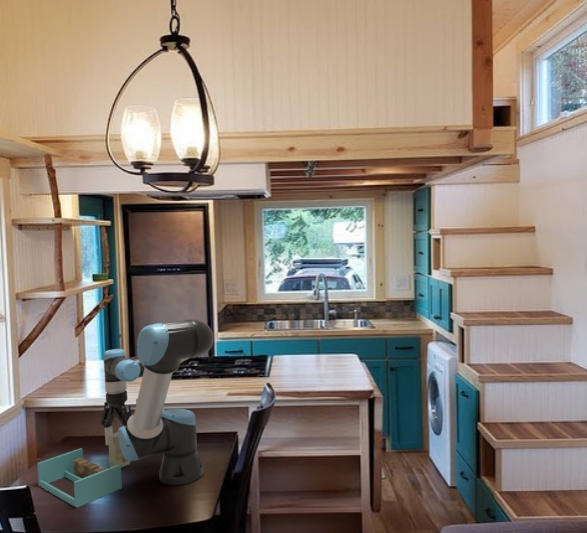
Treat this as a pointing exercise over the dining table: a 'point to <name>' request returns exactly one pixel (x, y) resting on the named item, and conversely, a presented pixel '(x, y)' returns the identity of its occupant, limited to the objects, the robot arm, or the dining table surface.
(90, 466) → the block
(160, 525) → the dining table surface
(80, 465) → the offcut
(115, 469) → the teal rack
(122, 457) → the skincare box
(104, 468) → the offcut
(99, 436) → the dining table surface
